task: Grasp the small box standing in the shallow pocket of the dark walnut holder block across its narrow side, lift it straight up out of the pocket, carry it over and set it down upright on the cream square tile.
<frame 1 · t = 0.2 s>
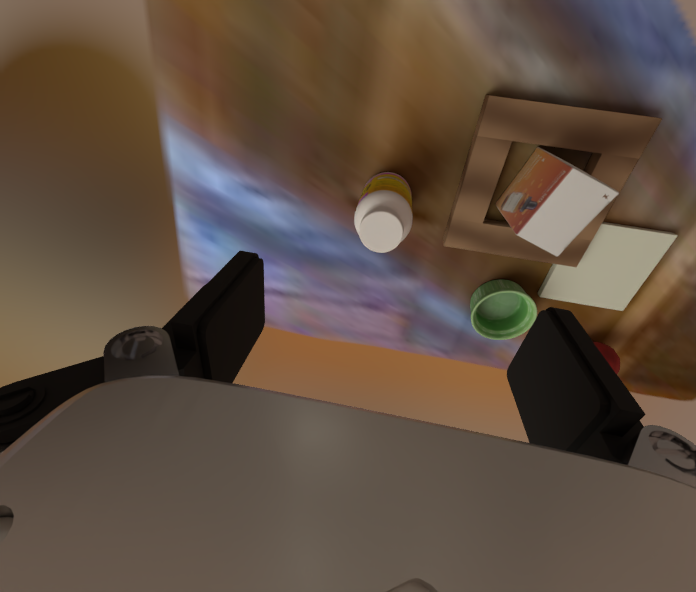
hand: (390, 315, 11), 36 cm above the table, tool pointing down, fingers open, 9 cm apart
onion: (584, 344, 54), on the table
supplement bottle: (386, 195, 45), on the table
small box: (531, 186, 42), resting in holder block
cream square tile: (599, 265, 46), on the table
ramekin: (496, 299, 52), on the table
holder block: (532, 186, 42), on the table
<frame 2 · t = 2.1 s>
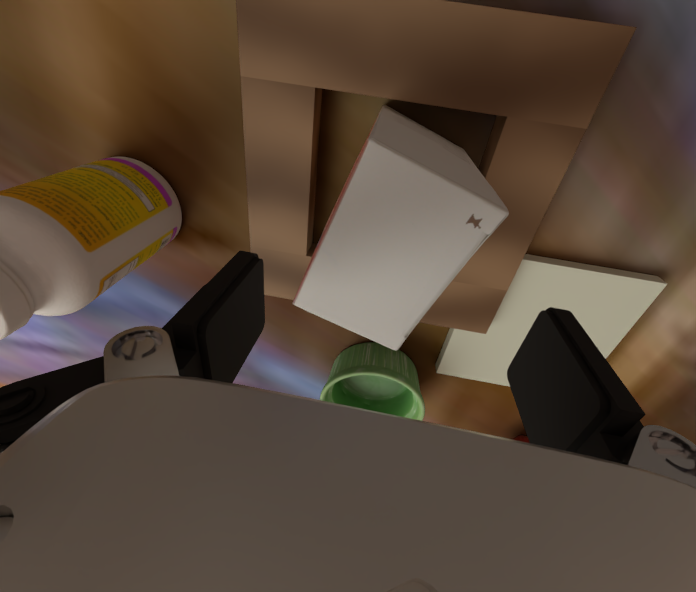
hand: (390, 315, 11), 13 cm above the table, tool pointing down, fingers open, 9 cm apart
supplement bottle: (144, 201, 25), on the table
small box: (391, 186, 22), resting in holder block
cream square tile: (530, 326, 26), on the table
ramekin: (374, 369, 32), on the table
holder block: (391, 187, 21), on the table
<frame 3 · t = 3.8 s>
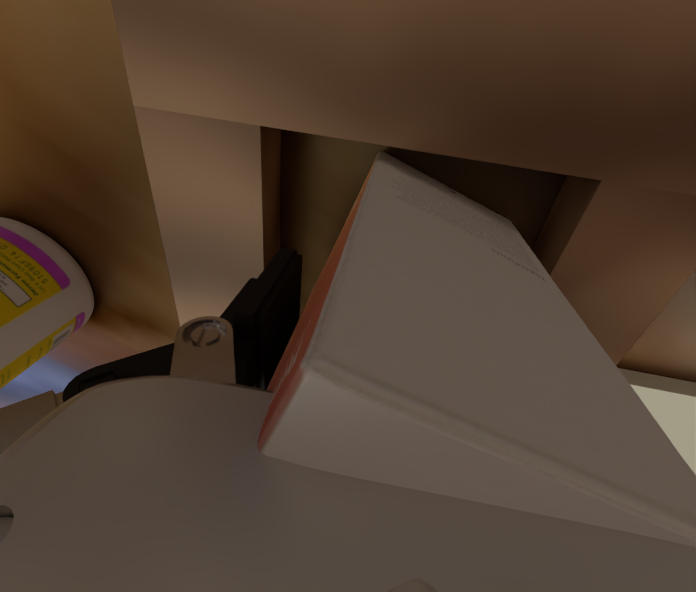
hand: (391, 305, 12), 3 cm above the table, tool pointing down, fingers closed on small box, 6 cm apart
supplement bottle: (42, 271, 17), on the table
small box: (393, 266, 14), resting in holder block, touching gripper
cream square tile: (591, 449, 18), on the table
holder block: (393, 268, 14), on the table
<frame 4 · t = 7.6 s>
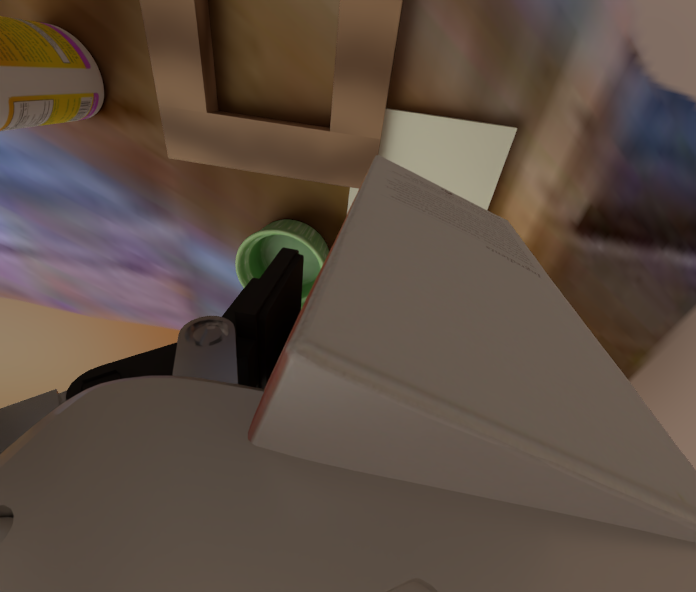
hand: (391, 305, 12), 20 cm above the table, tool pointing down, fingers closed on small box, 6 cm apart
supplement bottle: (72, 75, 28), on the table
small box: (393, 269, 14), point 17 cm above the table, touching gripper
cream square tile: (418, 191, 29), on the table
ramekin: (294, 253, 35), on the table
holder block: (275, 44, 25), on the table
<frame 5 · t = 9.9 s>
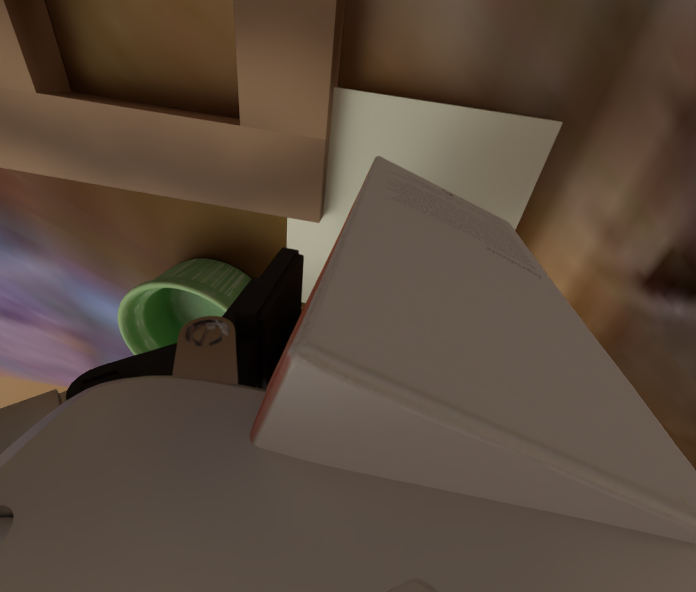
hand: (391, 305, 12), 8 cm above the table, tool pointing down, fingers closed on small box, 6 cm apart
small box: (393, 270, 14), point 5 cm above the table, touching gripper
cream square tile: (395, 222, 18), on the table
ramekin: (221, 303, 24), on the table
when the fingers open (5 cm above the table, at t = 11.5 s): small box drops 1 cm, resting on cream square tile.
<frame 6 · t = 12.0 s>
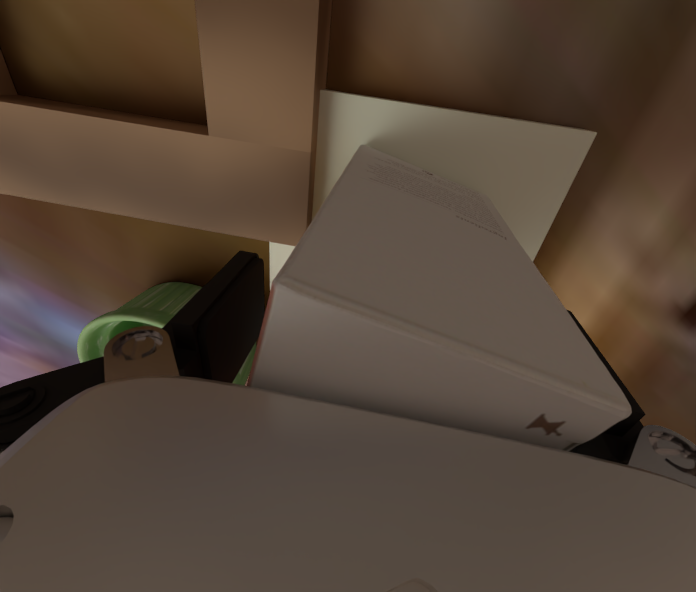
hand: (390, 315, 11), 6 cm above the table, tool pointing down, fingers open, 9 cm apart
small box: (387, 250, 15), point 1 cm above the table, touching cream square tile
cream square tile: (395, 245, 16), on the table
ramekin: (201, 329, 22), on the table
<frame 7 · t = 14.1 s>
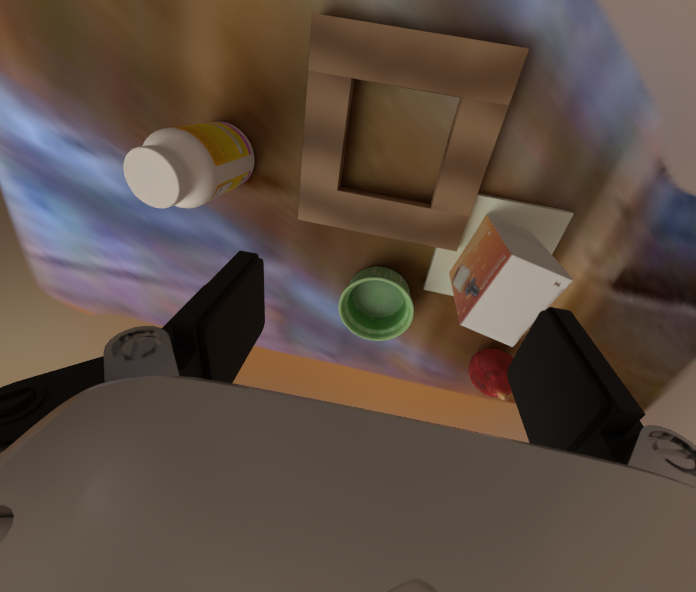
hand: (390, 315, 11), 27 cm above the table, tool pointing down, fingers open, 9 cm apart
onion: (487, 351, 45), on the table
supplement bottle: (229, 154, 37), on the table
small box: (487, 253, 37), point 1 cm above the table, touching cream square tile
cream square tile: (489, 251, 37), on the table
ramekin: (378, 292, 43), on the table
holder block: (394, 145, 33), on the table
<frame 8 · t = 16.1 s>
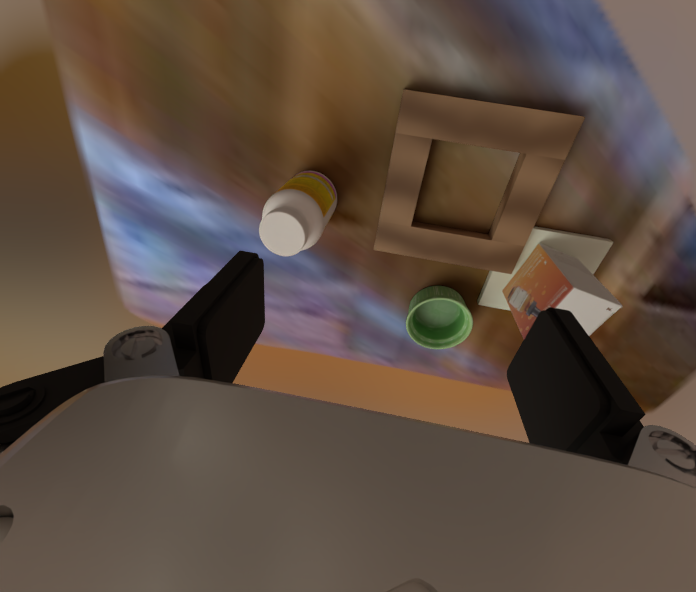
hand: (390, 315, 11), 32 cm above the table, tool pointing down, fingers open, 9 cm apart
supplement bottle: (313, 195, 43), on the table
small box: (536, 274, 43), point 1 cm above the table, touching cream square tile
cream square tile: (537, 272, 44), on the table
ramekin: (436, 306, 49), on the table
holder block: (461, 188, 39), on the table
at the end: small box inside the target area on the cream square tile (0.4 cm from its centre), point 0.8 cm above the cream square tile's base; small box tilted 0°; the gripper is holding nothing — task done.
